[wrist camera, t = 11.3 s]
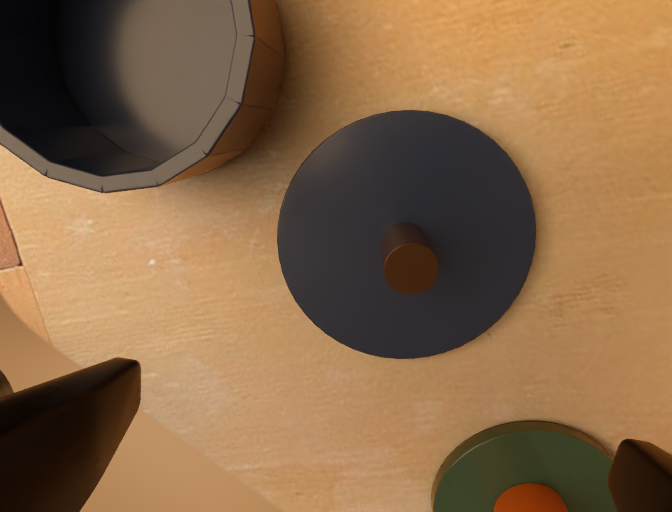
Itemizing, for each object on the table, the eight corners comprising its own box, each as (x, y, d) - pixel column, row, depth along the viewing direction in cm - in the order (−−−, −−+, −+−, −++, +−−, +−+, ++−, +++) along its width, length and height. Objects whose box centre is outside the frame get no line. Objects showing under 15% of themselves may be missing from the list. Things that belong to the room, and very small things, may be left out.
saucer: (525, 597, 26) (530, 611, 25) (393, 505, 25) (394, 517, 24) (664, 493, 23) (674, 506, 23) (523, 385, 22) (528, 394, 21)
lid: (415, 388, 23) (426, 452, 18) (235, 256, 21) (201, 290, 17) (581, 219, 20) (643, 247, 15) (385, 53, 18) (390, 30, 14)
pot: (201, 218, 21) (145, 250, 16) (11, 77, 20) (-119, 60, 15) (334, 26, 18) (319, -13, 13) (123, -151, 17) (13, -274, 12)
